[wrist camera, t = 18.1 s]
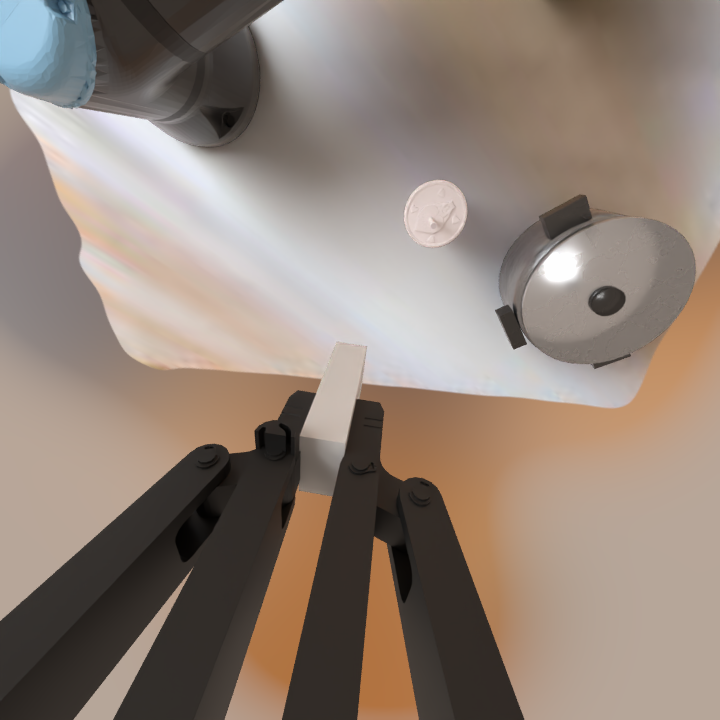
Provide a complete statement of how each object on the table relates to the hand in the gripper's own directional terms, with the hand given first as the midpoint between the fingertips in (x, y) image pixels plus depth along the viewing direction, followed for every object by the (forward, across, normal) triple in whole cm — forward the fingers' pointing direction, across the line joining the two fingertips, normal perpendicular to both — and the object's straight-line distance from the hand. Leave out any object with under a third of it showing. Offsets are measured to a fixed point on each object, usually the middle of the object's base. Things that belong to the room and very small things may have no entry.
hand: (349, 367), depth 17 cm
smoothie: (+33, +5, +5) cm, 33 cm away
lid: (+23, +24, -1) cm, 33 cm away
